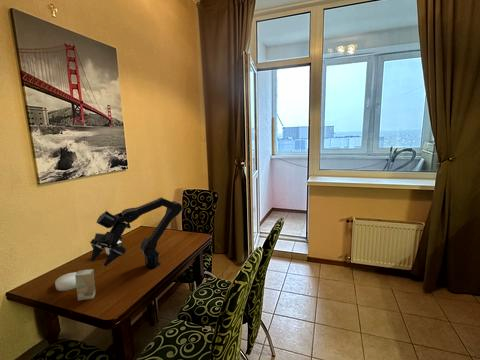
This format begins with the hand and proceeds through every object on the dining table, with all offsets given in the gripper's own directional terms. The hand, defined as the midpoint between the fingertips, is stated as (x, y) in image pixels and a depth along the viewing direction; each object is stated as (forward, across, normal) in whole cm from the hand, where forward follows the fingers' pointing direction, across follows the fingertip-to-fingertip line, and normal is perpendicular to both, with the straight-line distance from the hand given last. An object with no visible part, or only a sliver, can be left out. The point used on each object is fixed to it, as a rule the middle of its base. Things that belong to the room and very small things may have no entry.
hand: (98, 263), depth 119 cm
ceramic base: (+12, -17, +6) cm, 22 cm away
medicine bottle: (-10, -25, +29) cm, 40 cm away
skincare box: (+14, 0, +4) cm, 15 cm away
